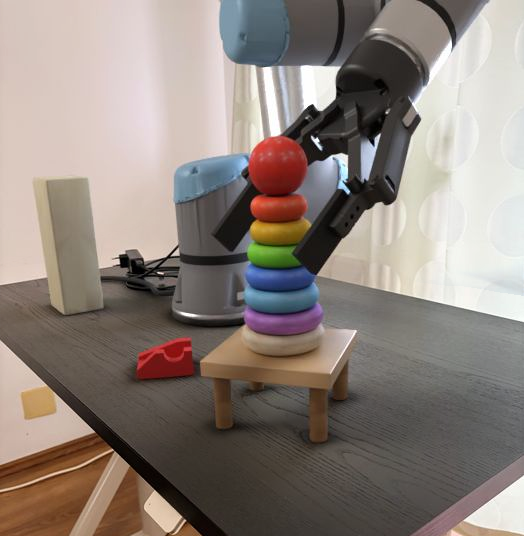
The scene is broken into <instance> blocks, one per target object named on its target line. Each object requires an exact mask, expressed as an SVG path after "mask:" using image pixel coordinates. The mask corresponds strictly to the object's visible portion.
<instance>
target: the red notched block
mask: <svg viewBox="0 0 524 536" xmlns="http://www.w3.org/2000/svg"><path fill="white" fill-rule="evenodd" d="M137 356H138V357H137V359H138V362H137V368H136V376H137V380H148V379H159V378H172V377H185V376H194V374H195V372H194V370H195V369H194V359H193V346H192V337H191V336H189V337H178V338H175V339H172V340H170V341H167V342H165V343H162V344H160V345H157V346H154V347H151V348H149V349H147V350H144V351H141V352H139V353H138V355H137Z"/></svg>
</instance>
